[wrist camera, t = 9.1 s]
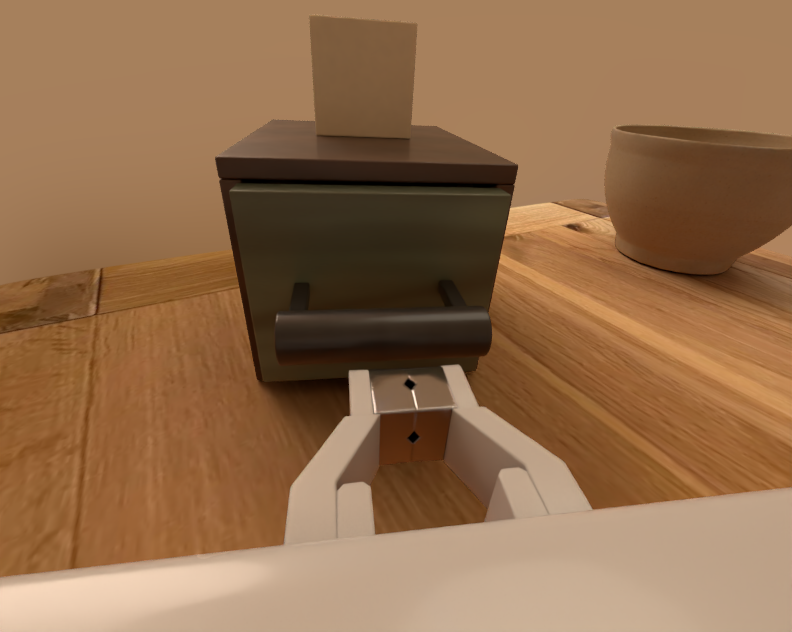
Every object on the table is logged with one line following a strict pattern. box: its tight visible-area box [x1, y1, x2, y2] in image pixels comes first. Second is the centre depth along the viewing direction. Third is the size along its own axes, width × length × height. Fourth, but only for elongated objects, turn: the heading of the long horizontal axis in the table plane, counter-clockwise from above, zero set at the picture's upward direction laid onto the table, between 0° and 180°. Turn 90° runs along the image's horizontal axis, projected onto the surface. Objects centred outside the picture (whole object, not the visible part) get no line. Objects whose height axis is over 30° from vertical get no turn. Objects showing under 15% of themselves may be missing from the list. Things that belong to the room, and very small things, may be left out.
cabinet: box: [215, 120, 518, 380], centre depth 23 cm, size 15×12×11 cm
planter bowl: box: [604, 125, 792, 275], centre depth 34 cm, size 16×16×11 cm
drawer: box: [229, 180, 511, 382], centre depth 20 cm, size 18×10×9 cm, turn 8°
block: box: [309, 14, 417, 139], centre depth 21 cm, size 5×5×5 cm
